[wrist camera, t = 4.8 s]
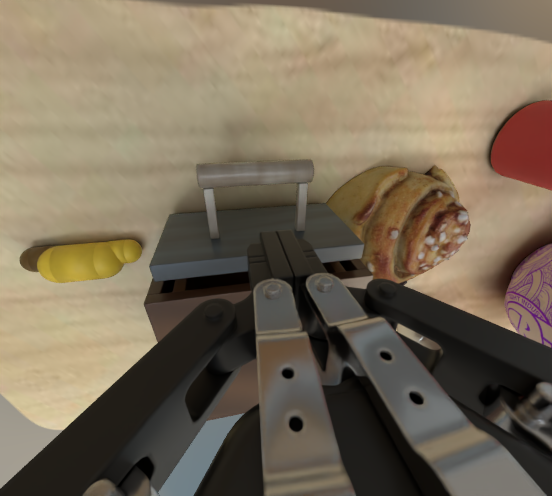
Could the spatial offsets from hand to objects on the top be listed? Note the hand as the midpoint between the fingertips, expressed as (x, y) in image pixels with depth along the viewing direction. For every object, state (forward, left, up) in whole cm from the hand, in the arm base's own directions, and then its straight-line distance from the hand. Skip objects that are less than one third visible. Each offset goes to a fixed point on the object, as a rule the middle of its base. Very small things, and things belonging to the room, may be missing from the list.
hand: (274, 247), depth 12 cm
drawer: (0, -6, -10) cm, 12 cm away
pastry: (+13, -5, -12) cm, 18 cm away
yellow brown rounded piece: (-14, -7, -10) cm, 19 cm away
